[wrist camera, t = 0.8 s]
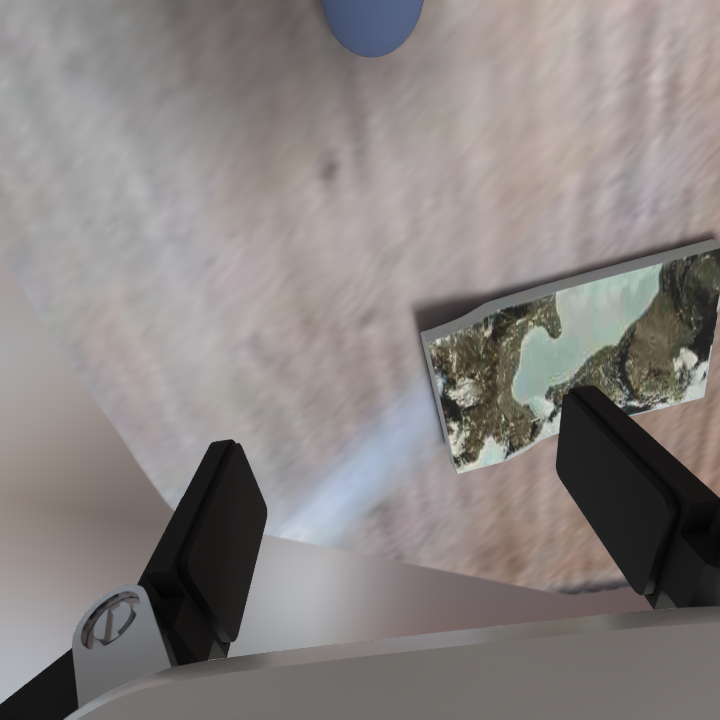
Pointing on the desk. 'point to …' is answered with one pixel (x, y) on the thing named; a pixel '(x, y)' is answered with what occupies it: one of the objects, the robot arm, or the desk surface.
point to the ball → (372, 23)
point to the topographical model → (574, 351)
